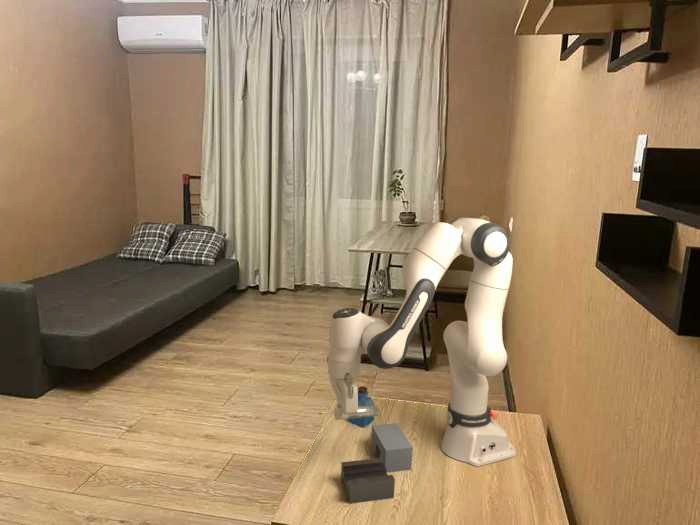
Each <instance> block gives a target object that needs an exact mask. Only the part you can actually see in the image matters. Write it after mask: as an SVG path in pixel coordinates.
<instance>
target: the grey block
mask: <svg viewBox="0 0 700 525" xmlns="http://www.w3.org/2000/svg"><path fill="white" fill-rule="evenodd" d="M370 438H371V439H370V447H371V449H372V451H373V453H374V455H375V456H378V455H379V458H384V460H385V467H386V469H387V470H386V473H387V474H388V473H394V472H402V471H410V470H412V464H413V445H411V443H410V441H409V439H408V438H407V437H406V435H405V433H404V432H403V431H402V429H401V427H400V426H399V424H398V423H397V422H394V423H393V422H392V423H391V422H390V423H383V424H382V423H381V424H372V425H371V437H370Z"/></svg>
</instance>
